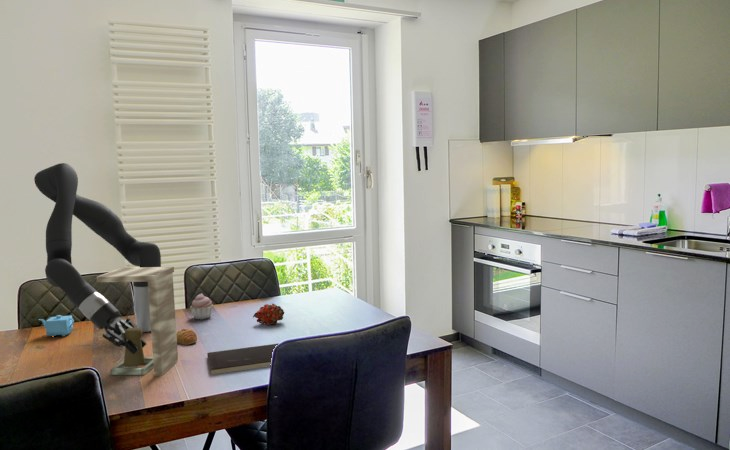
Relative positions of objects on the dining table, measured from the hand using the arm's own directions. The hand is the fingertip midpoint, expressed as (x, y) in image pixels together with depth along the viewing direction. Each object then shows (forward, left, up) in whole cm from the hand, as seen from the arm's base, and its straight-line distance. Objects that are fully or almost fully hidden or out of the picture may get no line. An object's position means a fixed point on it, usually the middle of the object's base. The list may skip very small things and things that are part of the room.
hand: (140, 348), depth 166 cm
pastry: (-24, -11, -7) cm, 27 cm away
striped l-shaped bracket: (0, 0, -6) cm, 6 cm away
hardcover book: (-23, +22, -7) cm, 32 cm away
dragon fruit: (-54, -2, -6) cm, 55 cm away
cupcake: (-45, -32, -6) cm, 56 cm away
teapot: (0, -58, -6) cm, 59 cm away
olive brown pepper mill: (+1, -1, -5) cm, 5 cm away
